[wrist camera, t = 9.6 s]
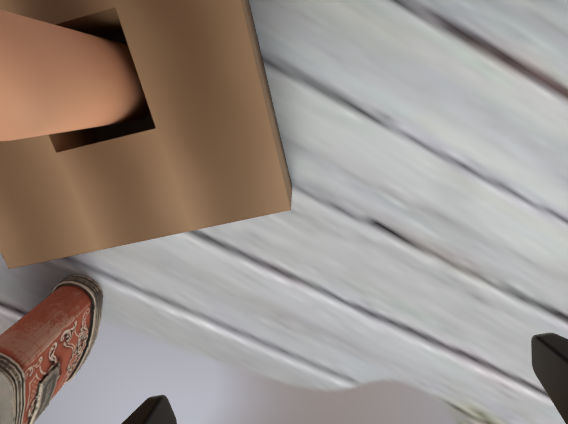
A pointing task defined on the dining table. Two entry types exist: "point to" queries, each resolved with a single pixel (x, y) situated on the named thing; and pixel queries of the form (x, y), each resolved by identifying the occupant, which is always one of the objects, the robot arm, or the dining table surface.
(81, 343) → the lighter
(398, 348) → the dining table surface
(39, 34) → the peg
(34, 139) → the bore block
